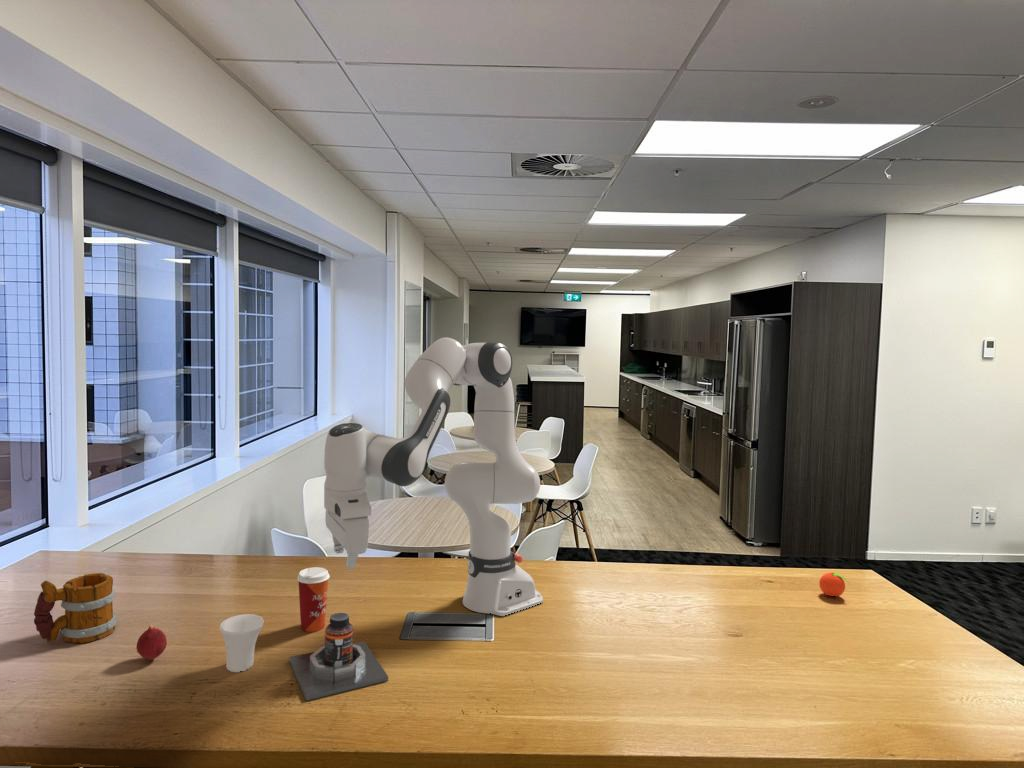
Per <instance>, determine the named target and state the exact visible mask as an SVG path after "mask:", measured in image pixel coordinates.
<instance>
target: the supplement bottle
mask: <svg viewBox="0 0 1024 768" xmlns="http://www.w3.org/2000/svg"><path fill="white" fill-rule="evenodd" d="M324 631H325V632H324V633H325V634H324V646H325V660H324V665H325V666H330V667H339V666H343V665H347V664H352V658H353V657H352V655H353V644H354V626H353V624H352V623H350V615H349V614H348V613H345V612H337V613H332V614H331V615H330V616H329V624H328V625H327V626H326V627H325V630H324Z"/></svg>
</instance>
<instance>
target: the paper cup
mask: <svg viewBox="0 0 1024 768" xmlns="http://www.w3.org/2000/svg"><path fill="white" fill-rule="evenodd" d="M330 577H331V576H330V573H329V572H328V569H327V568H325V567H319V566H318V567H316V566H315V567H314V566H313V567H307V568H304V569H302V570H300V572H299V573H298V576H297V578H296V580H297V581H298V595H299V599H298V600H299V616H300V628H301V630H302V631H303V632H307V633H314V632H318V631H321V630H323V629H324V628H325V624H326V615H327V614H326V613H327V604H328V603H327V599H328V587H329V579H330Z"/></svg>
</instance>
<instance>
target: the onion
mask: <svg viewBox="0 0 1024 768" xmlns="http://www.w3.org/2000/svg"><path fill="white" fill-rule="evenodd" d="M167 642H168V641H167V635H166V634H165V632H163V630H161V629H159V628H156V627H155V626H154V625H153V624H149V626H148V628H147V629H146V630H144V631H143V633H141V635H140V636H139V637H138V639H137V642H136V646H135V647H136V648H135V649H136V652H137V653H138V654H139V655H140V657H142V658H143V659H146V660H148V661H153V660H155V659H157V658H158V657H159V656H161V654H163V652H164V651H165V650H166V648H167V645H168V643H167Z"/></svg>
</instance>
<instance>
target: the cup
mask: <svg viewBox="0 0 1024 768" xmlns="http://www.w3.org/2000/svg"><path fill="white" fill-rule="evenodd" d="M264 622H265V621H264V619H263V617H262V616H260V615H257V614H254V613H253V614H251V613H243V614H242V613H241V614H238V615H234V616H231V617H228V618H225V620H223V621H222V622H221V623H220V625H219V631H220V633H221V635H222V636H223V641H224V645H225V653H226V664H225V665H226V666H225V667H226V670H228V671H229V672H231V673H241V672H240V671H243V672H245V671H247V669H248V670H249V669H251V668H252V666H253V665H254V662H255V660H254V657H255V648H256V642H257V640H258V637H259V634H260V632H261V630H262V629H263V627H264ZM250 667H251V668H250Z"/></svg>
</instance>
